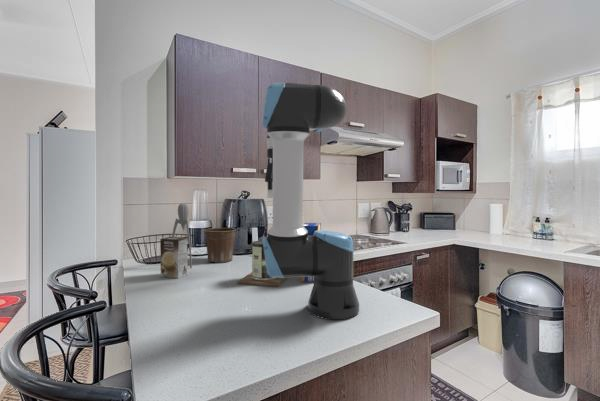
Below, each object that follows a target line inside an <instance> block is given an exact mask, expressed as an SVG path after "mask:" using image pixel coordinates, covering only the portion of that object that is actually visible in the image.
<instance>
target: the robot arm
mask: <svg viewBox="0 0 600 401" xmlns="http://www.w3.org/2000/svg"><path fill="white" fill-rule="evenodd" d="M264 97H265V98H264V104H263V105H264V106H263V113H262V120H261V121H262V122H261V126H262V127H263V128H265V129H266V134H267V137H266V139H267V140H266V142H265V143H266V146H267V150H266V154H267V156H266V157H267V158H268V159H267V167H266V172H265V177H264V178H265V179H264V182H265V183H267V194H266V195H267V198H268V199H272V226H270V227H269V229H268V230H267V236H264V237H262V238H261V239H262V240H263V247H264V254H265V261H266V268H267V274H268V275H269V276H270V277H272V278H286V279H287V278H301V277H306V276H314V282H313V284H312V285H313V286H312V289H311V291H310V294H309V298H308V301H307V305H308V307H307V308H308V309H309V310H308V311H310V312H311V313H310V312H309V313H310V314H311V315H313V314H314V315H313V316H315V315H316V316H315V317H317V316H319V317H318V318H321V317H323V318H322V319H325V318H327V319H326V320H335V319H338V320H346V318H347V319H351V318H353V316H354V317H356V316H357V315H358V314H359V313H360V302H359V299H358V295H357V292H356V289H355V286H354V252H355V250H354V240H353V238H352V236H350V235H349V234H346V233H342V232H337V231H330V230H322V229H321V230H320V231H314V234H313V235H314V236H308V231H307V230H306V229H305V228H304V226H303V224H304V223H303V221H304V220H303V218H304V217H303V216H304V215H303V213H304V212H303V211H304V209H303V208H304V146H305V145H304V144H305V143H304V142H305V140H306V139H307V138H308V136H310V133H318V132H319V133H320V132H322V131H323V129H330V128H334V127H336V126H338V125H340V124H341V123H342V122H343V121H344V120H345V117H346V114H347V107H348V106H347V103H346V101H345V99H344V96H343V95H342V94H341V93H340V92H338V90H336V89H334V88H333V87H331V86H328V85H324V84H308V83H307V84H306V83H297V82H296V83H295V82H294V83H293V82H285V81H284V82H271V83H269V84H268V85H267V87H266V90H265V96H264ZM358 312H359V313H358ZM355 315H356V316H355ZM350 317H351V318H350Z"/></svg>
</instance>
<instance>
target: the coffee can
mask: <svg viewBox="0 0 600 401" xmlns="http://www.w3.org/2000/svg"><path fill="white" fill-rule="evenodd" d="M251 250H252V251H251V252H252V254H251V258H252V259H251V260H252V261H251V262H252V264H251V265H252V266H251V267H252V271H251V272H252V278H253V279H256V280H272V279H275V278H272V277H270V276H269V275H268V274H267V268H266V261H265V254H264V247H263V240H254V241H252V242H251Z"/></svg>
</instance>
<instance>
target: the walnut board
mask: <svg viewBox="0 0 600 401" xmlns="http://www.w3.org/2000/svg"><path fill="white" fill-rule="evenodd" d="M286 279H287V278H275V279H272V280H256V279H253V278H252V271H251V272H250V273H248V274H246V275H245V276H243V277H242V278H240V279H239V280H238V281H237V285H247V286H248V285H249V286H260V287H272V288H278V287H279V286H280V285H281V284H282V283H283V282H284V281H285V280H286Z"/></svg>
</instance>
